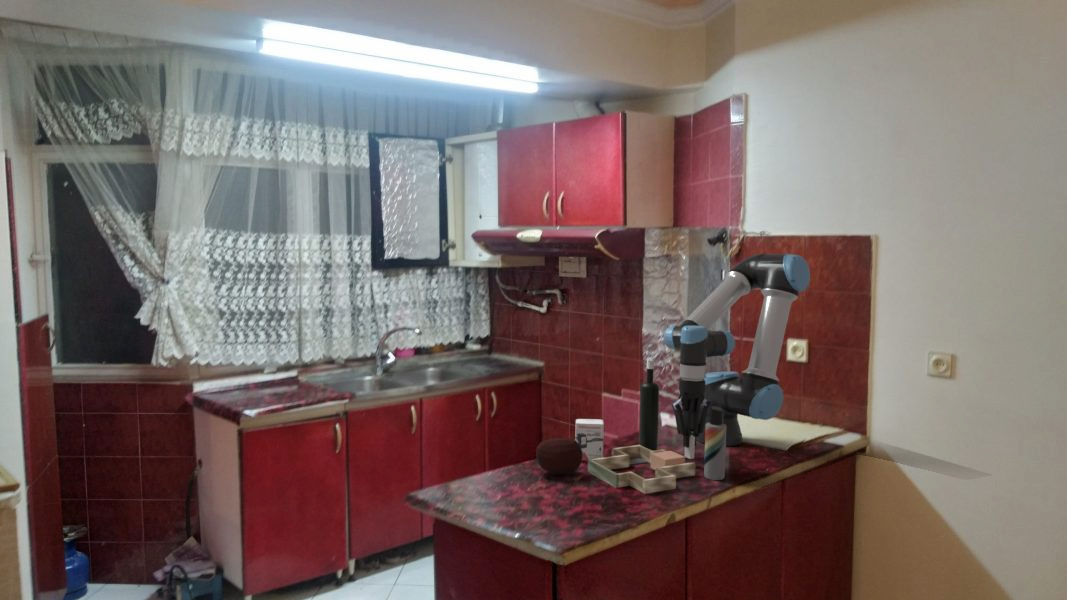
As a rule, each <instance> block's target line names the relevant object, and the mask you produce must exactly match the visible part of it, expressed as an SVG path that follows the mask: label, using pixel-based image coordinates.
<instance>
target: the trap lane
mask: <svg viewBox="0 0 1067 600" xmlns="http://www.w3.org/2000/svg"><path fill="white" fill-rule="evenodd" d="M664 451H667V450H666V449H657V450H655V451H652V450H650V449H648V448H645V447H643V446H641V445H639V444H636V445H628V446H620V447H612V448H611V456H606V457H605V456H603V458H597V459H590V460H588V461H587V472H588V473H589V474H590V475H592V476H594V477H596V478H597V479H600V480H601V481H603V482H605V483H606V484H608V485H610V486H612V487H613V488H614V489H617V488H618V489H619V488H623V487H632V488H634V489H635V490H637V491H639V492H641V493H643V494H644V495H647V494H652V493H653V494H654V493H657V492H665V491H669V490H674V489H677V488H676V487H677V479H680V478H685V477H686V478H687V477H692V476H693V477H694V476H696V463H695V462H694V461H693V462H685V464H678V465H671V466H665V467H658V468H655V471H654V475H655V476H654V477H652V478H651V477H650V478H644V477H643V476H641V475H639V474H638V473H635V472H633V471H626V472H625V471H624V472H619V473H617V472H615V471H613V470H617V469H618V470H619V469H624V468H629V467H630V466H634V465H639V464H641V465H642V464H647V463H650V464H651V453H657V452H664Z"/></svg>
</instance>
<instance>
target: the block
mask: <svg viewBox="0 0 1067 600" xmlns="http://www.w3.org/2000/svg"><path fill="white" fill-rule="evenodd" d="M685 463H686V457H684V455H682V454H679V453H677V452H675V451H672V450H666V451H664V452H657V453H651V463H650V469H652V470H655V468H658V467H665V466H671V465H678V464H685Z"/></svg>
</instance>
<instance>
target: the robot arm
mask: <svg viewBox="0 0 1067 600" xmlns="http://www.w3.org/2000/svg"><path fill="white" fill-rule="evenodd" d="M810 270H811V269H810V267H809V264H808V263H807V261H806V259H805V258H804V257H803V256H801V255H799V254H791V253H786V254H785V253H757V254H754V255H751V256H749V257H747V258H745V259H743V260H741V261H740V262H739V263H737V264H735V265H734V266H733V267H732V268H730V269H729V271H728V272H727V273H726V274H725V276H724V280H723V281H722V282H721V283H720V284H719V285H718V286H717V288H715V289H714V290H713V291H712V292H711V293H710V294H709V295H708V297H706V298H705V299H704V300H703V301H702V302H701V303H700V305H698V306H697V307H696V308H695V309H694V310H693V311H692V312H691V313H690V314H689V315H688V317H686V319H685V320H684V321H683V322H681V324H679V325H677V324H676V325H670V326H668V327H666V330H665V331H664V335H663V340H664V341H663V342H664V344H665V345H666V347H667V348H668V349H672V350H675V351H678V352H679V351H680V358H679V377H680V378H678V379H679V380H678V391H679V396H678V400H676V402H672V403H671V405H670V406H671V407H672V409H673V411H674V417H675V422H676V423H675V425H676V429H677V431H676V432H677V433H678V434H679V435H682V436H683V438H682V439H683V442H682V445H683V447H684V455H683V456H684V457H685V459H689V460H693V459H695V448H696V446H697V442H700V443H702V444H705V428H706V423H709V411H710V409H711V407H712V406H715V407H720V408H723V410H724V411H723V424H725V425H726V447H733V446H738V445H741V444H742V443H743V434H742V430H741V427H740V426H741V425H740V423H739V418H738V415H741V416H744V417H748V418H752V419H755V420H762V421H763V420H764V421H768V420H771V419H773V418H774V417H775V416H777V414H778V413H779V412H780V410H781V408H782V405H783V402H784V390H783V388H782V387H781V386H779V384H780V383H779V382H780V379H779V378H778V376H777V374H776V373H777V368H778V364H779V360H780V356H781V352H782V347H783V342H784V338H785V334H786V329H787V324H788V320H789V316H790V311H791V308H792V303H793V302H795V301H796V300H798V298H799V293H800V292H803V291H806V290H807V289H808V287H809V284H810V281H811V271H810ZM756 289H760V293H761V294H762V295H763V301H762V306H761V311H760V314H759V318H758V319H759V320H758V323H757V327H756V333H755V336H754V340H753V344H752V345H753V346H752V350H751V354H750V359H749V363H748V367H747V368H746V369H745V370H743V371H741V375H740V374H739V372H738V371H712V372H707V358H711V357H723V356H727V355H730V354H732V353H733V351H734V350H735V347H736V340H735V337H734V335H733V334H732V333H731V332H729V331H727V330H710V329H711V328H713V326H714V325H715V324H716V323H717V322H718V321H719V320H720V319H721V318H722V317H723V316H724V314H725V313H727V311H729V310H730V308H731V307H732V306H733V305H734V304H735V303H737V301H739V299H740V298H741V297H742V296H745V295H748V294H749V293H750V292H751V291H753V290H756Z"/></svg>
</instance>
